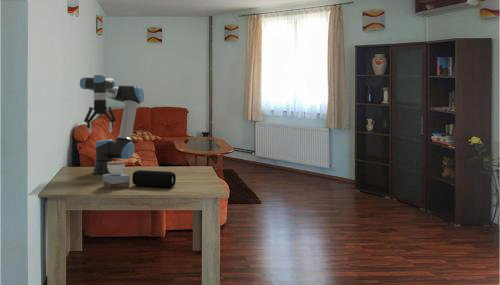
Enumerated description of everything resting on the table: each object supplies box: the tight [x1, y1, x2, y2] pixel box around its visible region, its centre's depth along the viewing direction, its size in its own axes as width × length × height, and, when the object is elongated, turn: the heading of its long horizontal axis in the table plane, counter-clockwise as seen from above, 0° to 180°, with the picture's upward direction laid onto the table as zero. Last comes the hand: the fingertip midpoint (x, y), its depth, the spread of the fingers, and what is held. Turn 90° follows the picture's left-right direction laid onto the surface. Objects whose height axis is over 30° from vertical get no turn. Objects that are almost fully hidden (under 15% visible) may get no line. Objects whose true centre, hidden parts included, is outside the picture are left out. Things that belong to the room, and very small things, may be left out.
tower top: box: [102, 172, 131, 184], centre depth 357 cm, size 12×12×4 cm
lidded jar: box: [107, 159, 126, 175], centre depth 357 cm, size 11×11×9 cm
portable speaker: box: [131, 169, 177, 189], centre depth 360 cm, size 26×10×10 cm, turn 80°
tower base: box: [102, 180, 130, 190], centre depth 358 cm, size 12×12×4 cm
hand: (100, 132), depth 370 cm, fingers open, 13 cm apart
